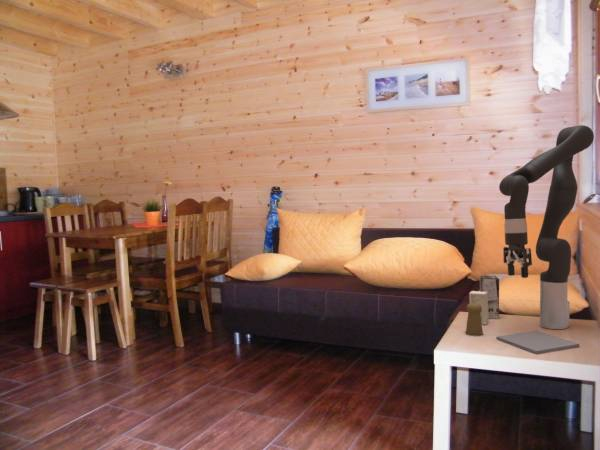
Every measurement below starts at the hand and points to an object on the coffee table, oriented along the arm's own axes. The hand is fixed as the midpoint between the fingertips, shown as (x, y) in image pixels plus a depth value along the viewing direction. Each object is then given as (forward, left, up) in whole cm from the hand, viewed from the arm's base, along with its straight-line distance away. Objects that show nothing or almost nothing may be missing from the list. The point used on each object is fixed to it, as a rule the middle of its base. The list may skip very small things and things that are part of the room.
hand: (517, 276), depth 186 cm
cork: (+15, -5, -21) cm, 26 cm away
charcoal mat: (+4, +13, -20) cm, 24 cm away
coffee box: (-7, -23, -21) cm, 32 cm away
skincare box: (+4, -16, -21) cm, 27 cm away
